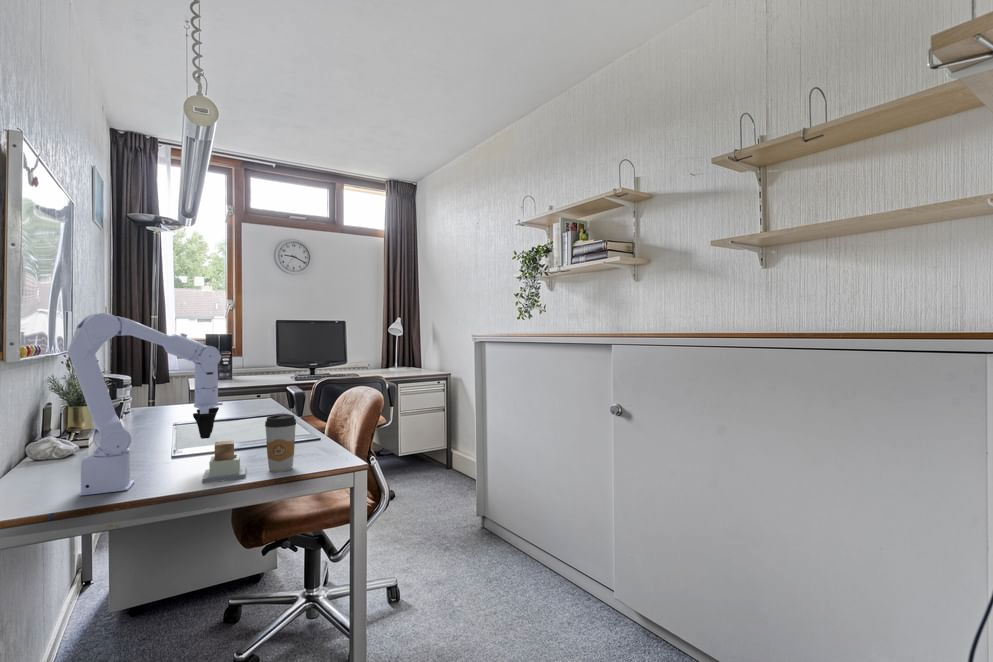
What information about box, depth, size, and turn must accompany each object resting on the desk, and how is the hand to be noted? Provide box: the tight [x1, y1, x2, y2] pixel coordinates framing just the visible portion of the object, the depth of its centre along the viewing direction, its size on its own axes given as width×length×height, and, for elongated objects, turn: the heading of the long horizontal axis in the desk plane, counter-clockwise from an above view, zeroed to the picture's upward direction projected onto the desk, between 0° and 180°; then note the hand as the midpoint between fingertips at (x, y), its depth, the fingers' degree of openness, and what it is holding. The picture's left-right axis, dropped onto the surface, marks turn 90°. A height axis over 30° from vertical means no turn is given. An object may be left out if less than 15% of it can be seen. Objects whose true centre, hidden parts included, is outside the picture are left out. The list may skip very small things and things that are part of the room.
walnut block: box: [214, 439, 235, 461], centre depth 136 cm, size 4×4×5 cm
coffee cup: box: [264, 414, 297, 473], centre depth 142 cm, size 8×8×15 cm
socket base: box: [201, 453, 247, 484], centre depth 136 cm, size 10×10×5 cm
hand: (206, 435), depth 141 cm, fingers open, 7 cm apart
